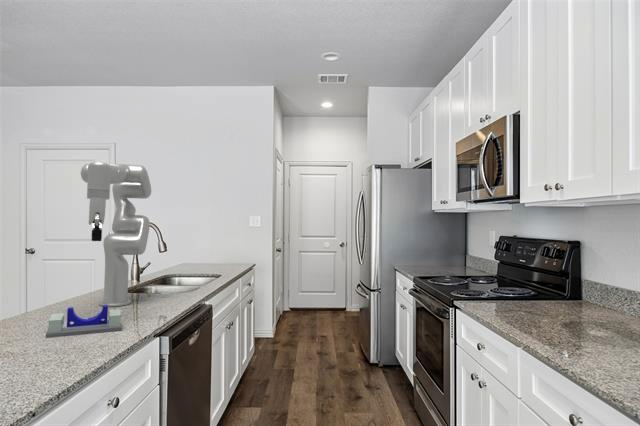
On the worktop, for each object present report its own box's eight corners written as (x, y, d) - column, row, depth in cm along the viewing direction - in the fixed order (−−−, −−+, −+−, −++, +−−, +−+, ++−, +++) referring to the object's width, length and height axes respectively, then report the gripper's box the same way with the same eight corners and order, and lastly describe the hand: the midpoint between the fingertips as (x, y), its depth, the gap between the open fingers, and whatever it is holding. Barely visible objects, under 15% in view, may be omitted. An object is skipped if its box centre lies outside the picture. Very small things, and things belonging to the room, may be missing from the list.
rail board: (50, 328, 139) (50, 313, 139) (120, 322, 149) (121, 308, 150) (45, 337, 128) (46, 321, 129) (122, 330, 139) (122, 315, 139)
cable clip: (107, 320, 144) (107, 304, 144) (107, 323, 140) (107, 306, 140) (67, 324, 138) (68, 306, 138) (66, 327, 134) (67, 309, 134)
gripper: (87, 195, 158) (86, 238, 158) (86, 193, 143) (84, 241, 142) (109, 196, 162) (107, 239, 161) (109, 194, 146) (108, 241, 146)
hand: (96, 240), depth 152 cm, fingers open, 9 cm apart
